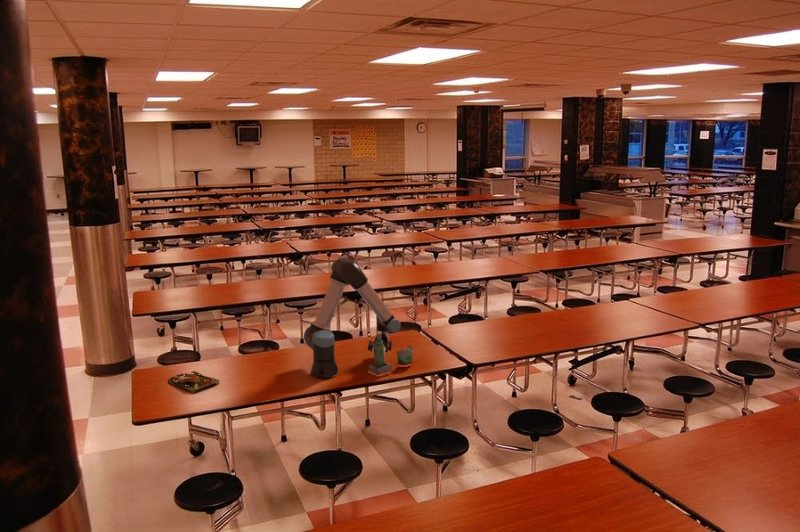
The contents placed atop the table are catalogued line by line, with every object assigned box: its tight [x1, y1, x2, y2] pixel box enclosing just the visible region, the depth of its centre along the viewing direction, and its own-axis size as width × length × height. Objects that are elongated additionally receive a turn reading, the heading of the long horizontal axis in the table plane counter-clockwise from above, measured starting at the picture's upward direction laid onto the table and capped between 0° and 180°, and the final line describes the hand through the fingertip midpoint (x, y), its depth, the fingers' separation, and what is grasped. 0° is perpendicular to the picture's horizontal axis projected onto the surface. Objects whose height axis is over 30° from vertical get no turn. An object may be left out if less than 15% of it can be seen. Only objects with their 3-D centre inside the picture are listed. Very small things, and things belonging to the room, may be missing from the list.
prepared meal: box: [167, 370, 221, 395], centre depth 328 cm, size 28×4×18 cm
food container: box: [396, 345, 415, 366], centre depth 351 cm, size 12×6×10 cm, turn 143°
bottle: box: [373, 331, 385, 368], centre depth 339 cm, size 6×6×21 cm
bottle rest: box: [368, 361, 393, 375], centre depth 341 cm, size 10×10×5 cm
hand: (378, 352), depth 333 cm, fingers closed on bottle, 6 cm apart
